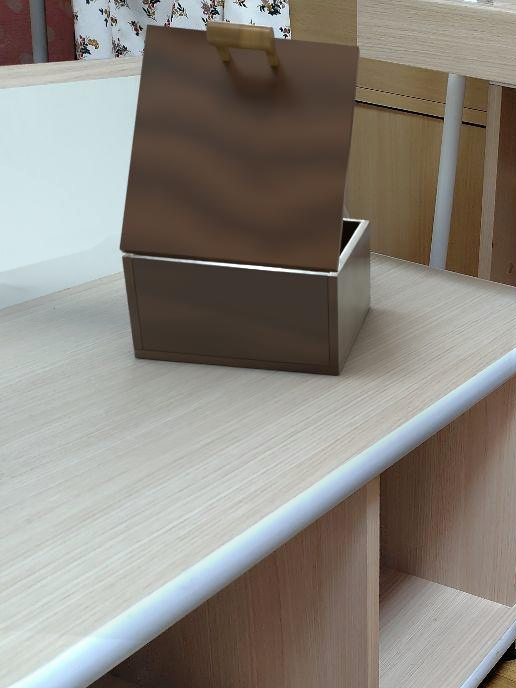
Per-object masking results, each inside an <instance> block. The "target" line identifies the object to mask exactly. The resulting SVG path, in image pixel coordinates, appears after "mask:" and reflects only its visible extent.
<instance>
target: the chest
mask: <svg viewBox="0 0 516 688" xmlns="http://www.w3.org/2000/svg"><path fill="white" fill-rule="evenodd" d="M121 261H122V269H123V276H124V282H125V283H124V285H125V291H126V301H127V309H128V314H129V325H130V330H131V339H132V345H133V346H132V347H133V352H134V353H133V354H134V358H136V359H145V360H157V361H159V360H160V361H169V362H179V363H180V362H181V363H193V364H203V365H215V366H227V367H237V368H238V367H239V368H248V369H249V368H250V369H260V370H272V371H284V372H294V373H306V374H318V375H327V376H329V375H330V376H339V375H340V374H341V371H342V369H343V367H344V365H345V362H346V360H347V358H348V356H349V353H350V351H351V350H352V347H353V346H354V343H355V341H356V338H357V336H358V335H359V332H360V330H361V327H362V325H363V323H364V321H365V319H366V317H367V314H368V312H369V310H370V308H371V220H367V219H356V218H350V219H347V218H343V227H342V237H341V248H340V258H339V268H338V273H335V272H324V271H313V270H310V271H301V270H290V269H280V268H269V267H258V266H247V265H242V264H238V263H227V262H216V261H206V260H195V259H184V258H173V257H162V256H152V255H141V254H130V253H124V255H122V256H121Z"/></svg>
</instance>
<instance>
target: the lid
mask: <svg viewBox="0 0 516 688" xmlns="http://www.w3.org/2000/svg"><path fill="white" fill-rule="evenodd" d="M360 54H361V50H360V46H358V45H349V44H341V43H331V42H330V43H329V42H322V41H321V42H320V41H311V40H302V39H291V38H281V37H275V30H274V27H273V26H271V25H270V26H267V25H259V24H250V23H241V22H231V21H221V20H213V19H212V20H211V19H209V20H207V21H206V27H205V29H197V28H196V29H194V28H187V27H186V28H185V27H178V26H177V27H175V26H166V25H165V26H164V25H156V24H146V28H145V37H144V45H143V53H142V62H141V70H140V76H139V77H140V78H139V86H138V94H137V103H136V110H135V119H134V127H133V135H132V142H131V143H132V144H131V149H130V159H129V167H128V168H129V169H128V175H127V182H126V183H127V185H126V192H125V201H124V208H123V217H122V225H121V233H120V241H119V251H120V252H121V253H122V254H126V253H130V254H141V255H152V256H162V257H173V258H184V259H195V260H206V261H216V262H227V263H238V264H249V265H259V266H270V267H281V268H292V269H303V270H313V271H324V272H335V273H338V268H339V258H340V248H341V237H342V227H343V217H344V207H345V208H346V206H345V205H346V196H347V185H348V176H349V166H350V165H349V164H350V157H351V146H352V135H353V127H354V126H353V125H354V116H355V105H356V96H357V85H358V76H359V64H360V56H361V55H360Z"/></svg>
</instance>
